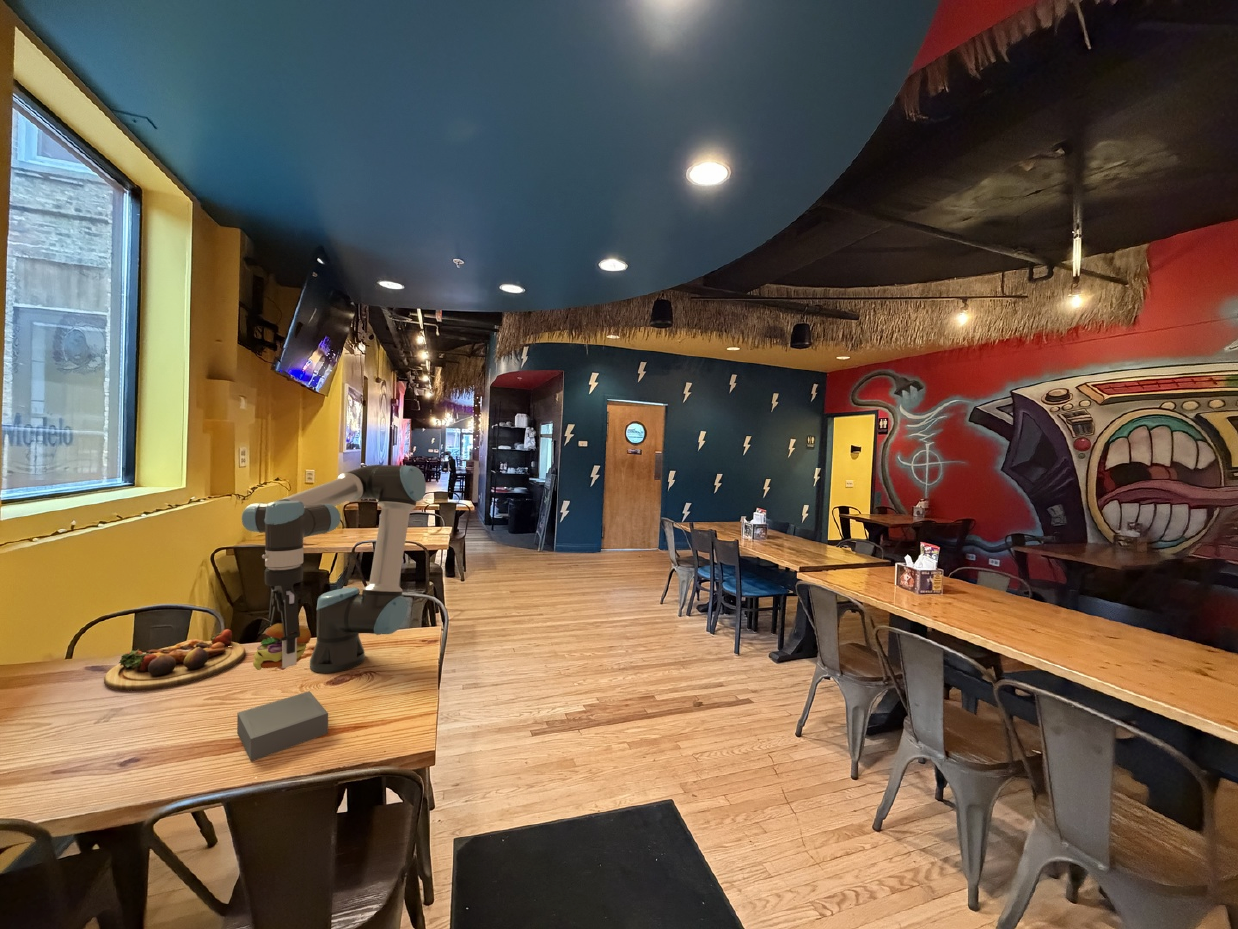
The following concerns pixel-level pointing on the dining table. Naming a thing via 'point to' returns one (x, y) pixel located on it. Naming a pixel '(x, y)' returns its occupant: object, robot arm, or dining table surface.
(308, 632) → the cheeseburger
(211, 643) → the wooden plate with food
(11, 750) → the dining table surface
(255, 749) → the tray
